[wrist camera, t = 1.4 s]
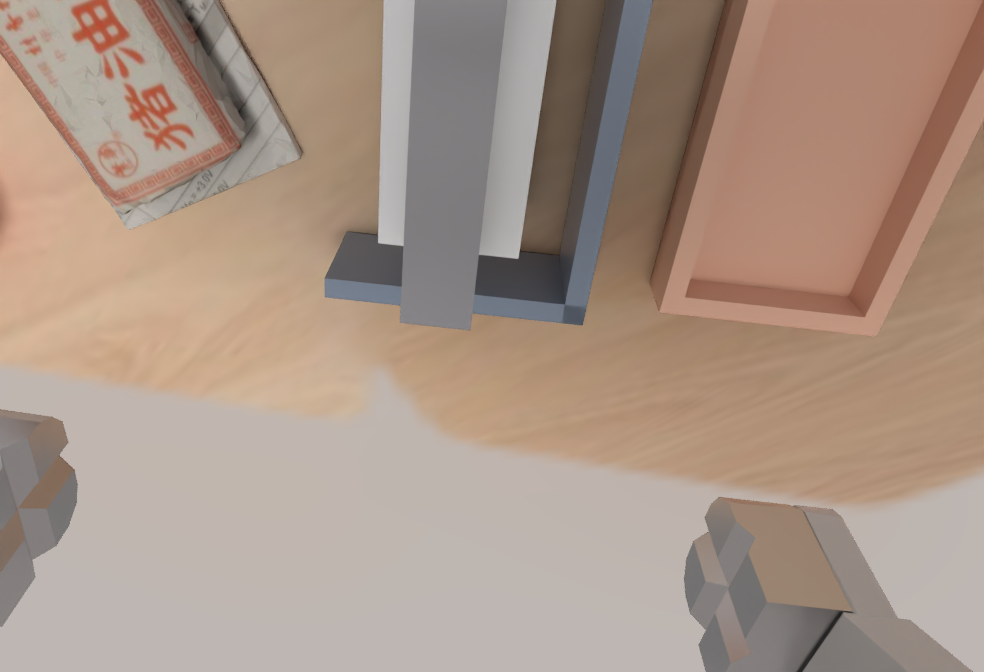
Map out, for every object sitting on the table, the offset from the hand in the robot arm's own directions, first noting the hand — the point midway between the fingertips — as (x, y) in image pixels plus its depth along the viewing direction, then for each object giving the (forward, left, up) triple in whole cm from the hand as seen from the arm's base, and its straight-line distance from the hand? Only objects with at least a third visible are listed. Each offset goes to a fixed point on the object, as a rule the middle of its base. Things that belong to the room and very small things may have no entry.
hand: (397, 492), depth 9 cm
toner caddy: (0, +1, -27) cm, 27 cm away
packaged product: (+16, 0, -27) cm, 32 cm away
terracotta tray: (-16, +2, -26) cm, 31 cm away
